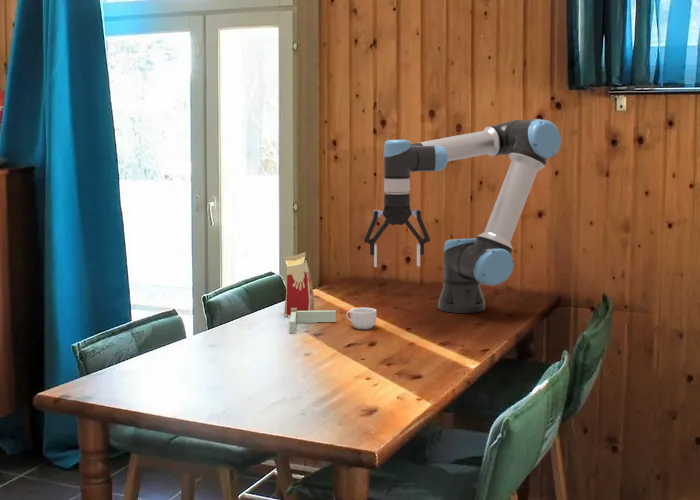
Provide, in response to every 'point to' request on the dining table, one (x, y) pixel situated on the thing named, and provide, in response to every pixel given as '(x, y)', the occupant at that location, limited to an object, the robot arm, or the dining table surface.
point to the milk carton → (298, 285)
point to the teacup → (362, 317)
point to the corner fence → (310, 317)
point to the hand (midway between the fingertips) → (396, 266)
